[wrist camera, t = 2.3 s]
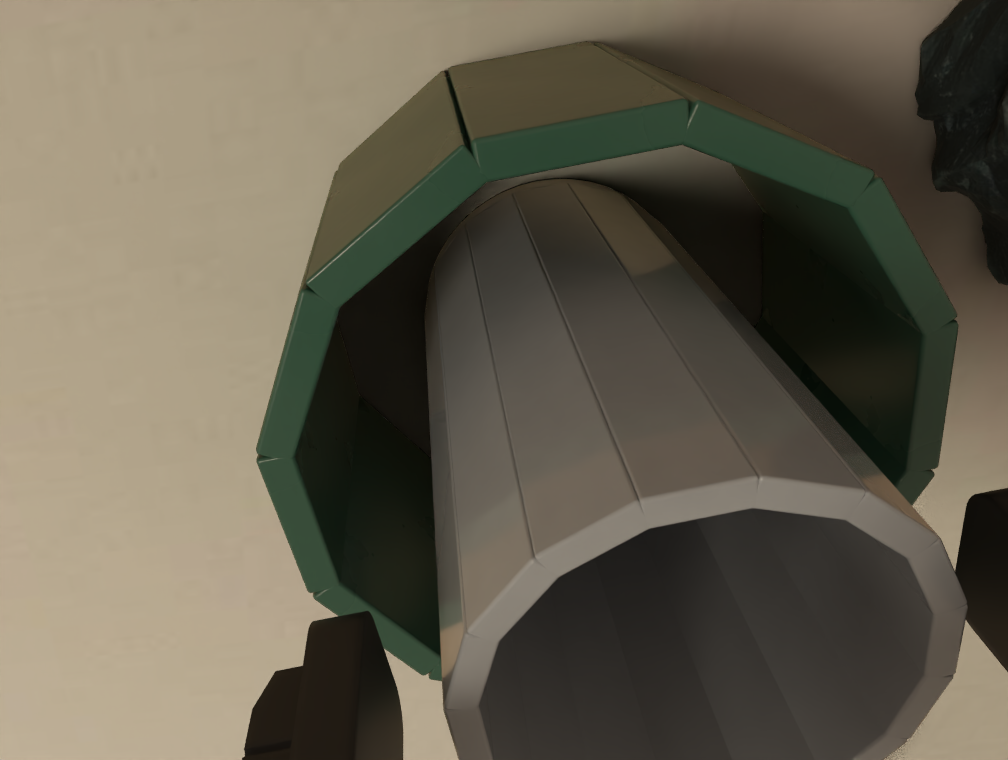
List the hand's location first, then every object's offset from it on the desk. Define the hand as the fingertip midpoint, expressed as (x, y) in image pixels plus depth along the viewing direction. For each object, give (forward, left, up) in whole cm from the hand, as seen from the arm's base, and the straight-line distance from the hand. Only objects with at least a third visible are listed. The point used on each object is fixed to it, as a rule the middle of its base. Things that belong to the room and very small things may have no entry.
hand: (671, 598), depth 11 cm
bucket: (0, 0, -9) cm, 9 cm away
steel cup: (0, 0, -9) cm, 9 cm away
